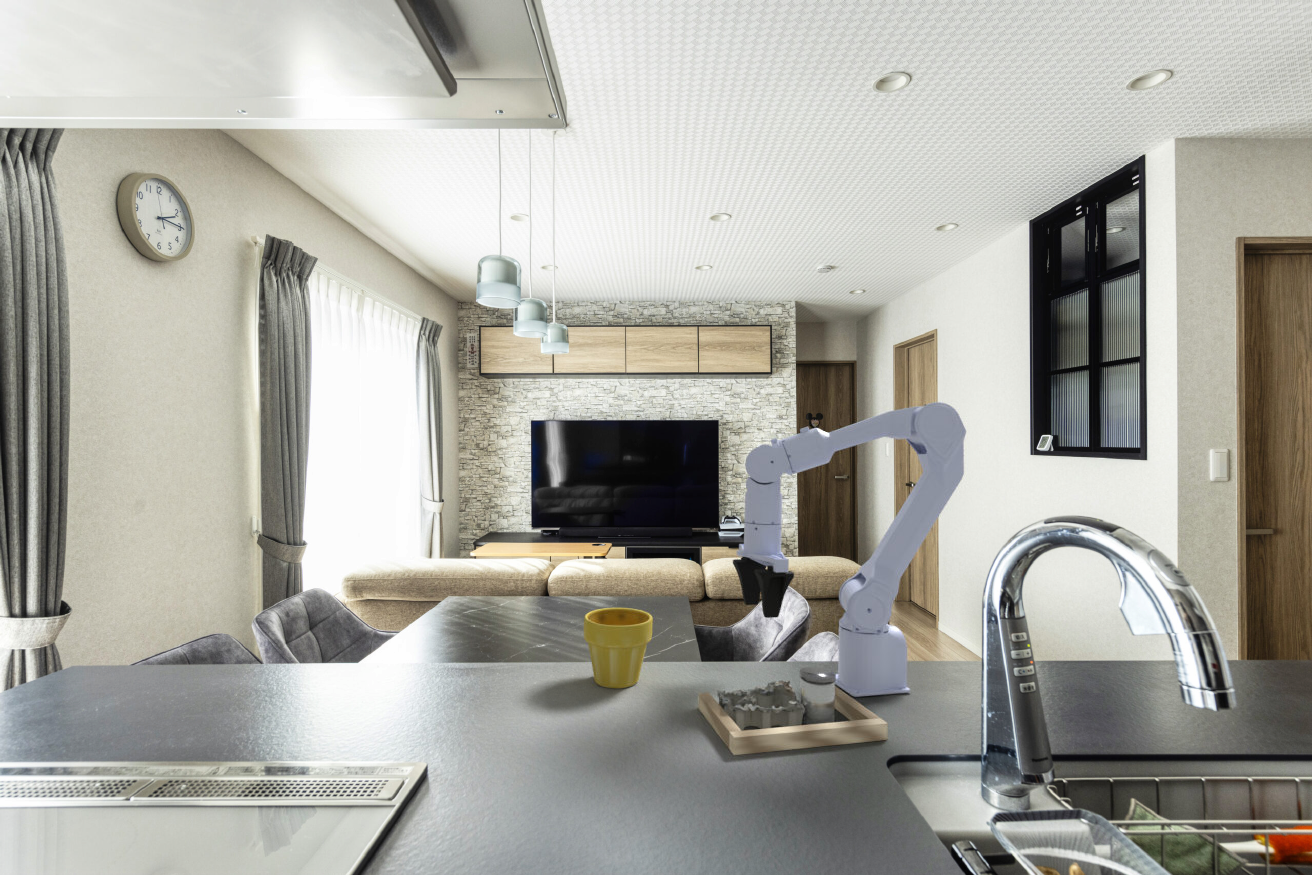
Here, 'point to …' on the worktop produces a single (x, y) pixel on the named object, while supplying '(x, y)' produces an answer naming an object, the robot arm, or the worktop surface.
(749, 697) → the egg carton
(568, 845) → the worktop surface
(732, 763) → the worktop surface
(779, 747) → the beech bay
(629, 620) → the plant pot
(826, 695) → the jar with metallic lid
